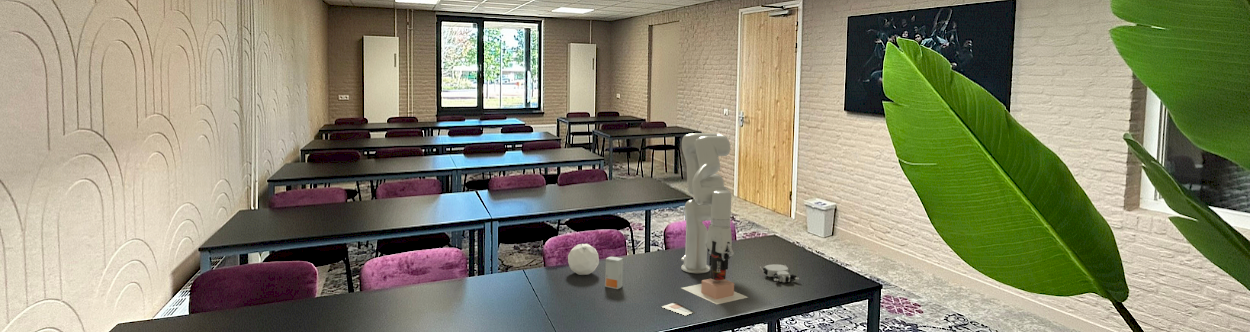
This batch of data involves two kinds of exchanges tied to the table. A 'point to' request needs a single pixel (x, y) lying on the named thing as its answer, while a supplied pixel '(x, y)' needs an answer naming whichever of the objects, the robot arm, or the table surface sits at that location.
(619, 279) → the skincare box
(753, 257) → the table surface
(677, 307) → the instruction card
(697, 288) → the plate
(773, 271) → the robot toy
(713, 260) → the deodorant
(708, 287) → the brick
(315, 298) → the table surface
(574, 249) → the geodesic sphere
